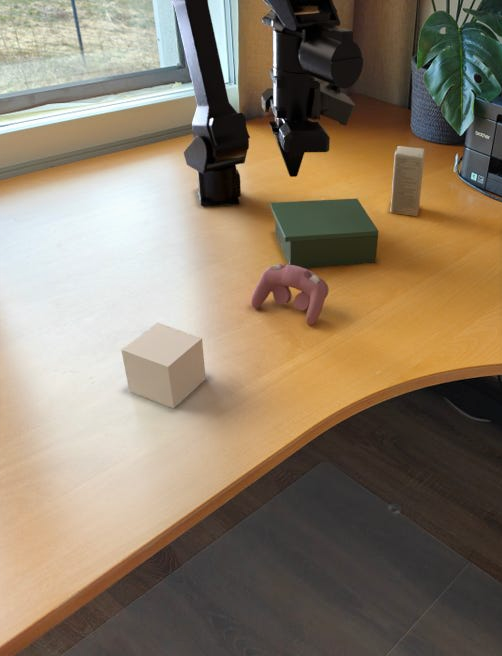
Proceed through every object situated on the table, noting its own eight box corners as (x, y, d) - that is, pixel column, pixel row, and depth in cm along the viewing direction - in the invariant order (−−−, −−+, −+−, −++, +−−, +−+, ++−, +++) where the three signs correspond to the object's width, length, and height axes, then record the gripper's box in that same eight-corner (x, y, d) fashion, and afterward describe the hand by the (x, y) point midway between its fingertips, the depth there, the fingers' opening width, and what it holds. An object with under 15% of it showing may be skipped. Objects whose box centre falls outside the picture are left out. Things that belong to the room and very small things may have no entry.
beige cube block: (205, 378, 78) (202, 338, 75) (173, 408, 74) (168, 367, 70) (163, 362, 80) (157, 322, 76) (128, 391, 75) (121, 349, 71)
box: (419, 207, 123) (427, 148, 116) (417, 217, 119) (424, 157, 113) (391, 202, 123) (397, 144, 116) (388, 212, 119) (394, 152, 113)
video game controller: (324, 324, 92) (336, 276, 91) (311, 327, 88) (323, 276, 87) (261, 305, 94) (271, 257, 93) (246, 307, 90) (256, 256, 88)
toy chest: (290, 269, 100) (290, 241, 97) (275, 233, 108) (275, 206, 105) (375, 263, 105) (378, 235, 102) (355, 229, 113) (356, 203, 110)
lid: (285, 242, 97) (285, 237, 96) (270, 207, 105) (269, 202, 104) (378, 235, 102) (378, 231, 101) (357, 202, 110) (357, 198, 109)
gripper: (370, 90, 86) (361, 201, 96) (334, 50, 100) (330, 151, 109) (284, 88, 83) (284, 203, 92) (260, 47, 96) (262, 152, 105)
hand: (293, 175), depth 100 cm, fingers closed
